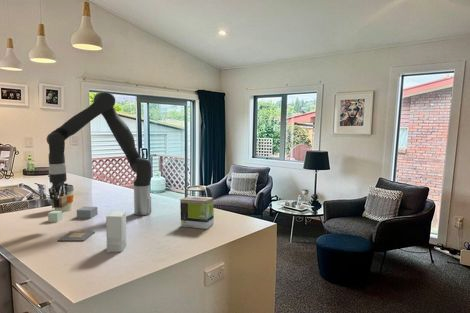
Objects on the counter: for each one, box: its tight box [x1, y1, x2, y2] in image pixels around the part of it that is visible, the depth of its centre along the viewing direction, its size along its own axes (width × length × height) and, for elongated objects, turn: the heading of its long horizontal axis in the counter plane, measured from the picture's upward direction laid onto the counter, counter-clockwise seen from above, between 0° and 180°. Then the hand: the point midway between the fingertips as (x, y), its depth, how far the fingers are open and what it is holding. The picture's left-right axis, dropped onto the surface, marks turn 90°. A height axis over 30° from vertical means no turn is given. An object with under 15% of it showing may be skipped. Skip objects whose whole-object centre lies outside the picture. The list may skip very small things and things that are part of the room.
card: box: [56, 230, 96, 242], centre depth 149 cm, size 12×12×1 cm
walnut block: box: [51, 196, 67, 209], centre depth 159 cm, size 5×5×5 cm
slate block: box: [76, 206, 99, 220], centre depth 182 cm, size 8×8×5 cm
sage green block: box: [47, 210, 63, 223], centre depth 174 cm, size 5×5×5 cm
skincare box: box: [105, 210, 127, 253], centre depth 134 cm, size 8×7×16 cm
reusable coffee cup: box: [50, 184, 75, 213], centre depth 195 cm, size 13×13×15 cm
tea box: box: [179, 195, 215, 230], centre depth 166 cm, size 15×10×15 cm
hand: (59, 205), depth 159 cm, fingers closed on walnut block, 5 cm apart
